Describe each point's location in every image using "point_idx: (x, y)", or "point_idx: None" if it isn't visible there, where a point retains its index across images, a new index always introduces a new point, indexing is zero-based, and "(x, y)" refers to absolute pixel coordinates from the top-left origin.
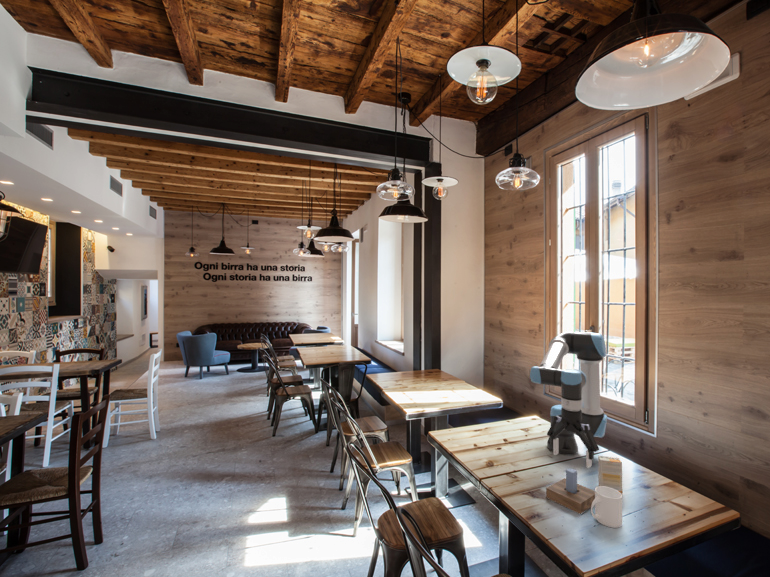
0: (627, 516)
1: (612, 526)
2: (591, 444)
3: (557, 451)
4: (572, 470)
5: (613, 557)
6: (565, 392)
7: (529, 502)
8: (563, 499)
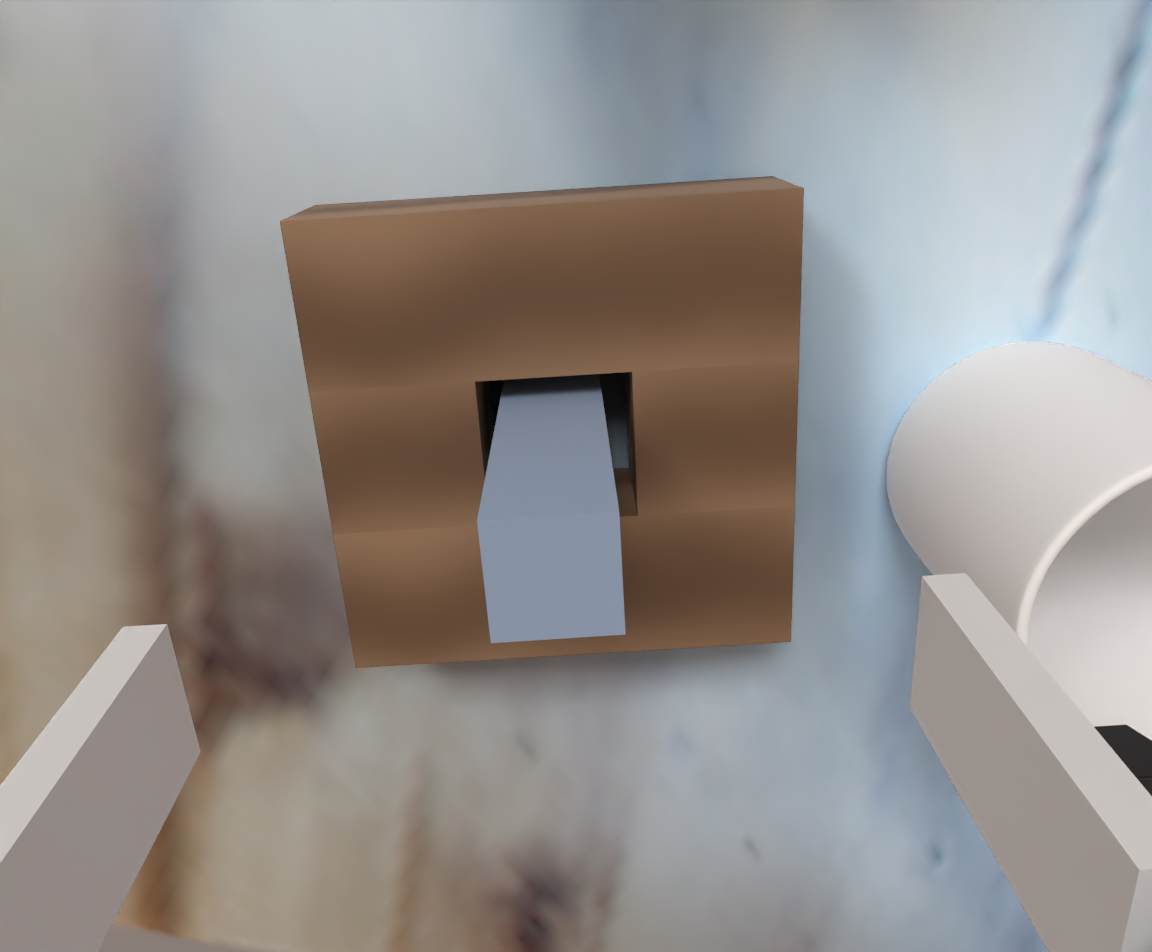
0: (1124, 175)
1: (1080, 545)
2: None
3: (154, 708)
4: (566, 567)
5: None
6: None
7: (361, 804)
8: None
